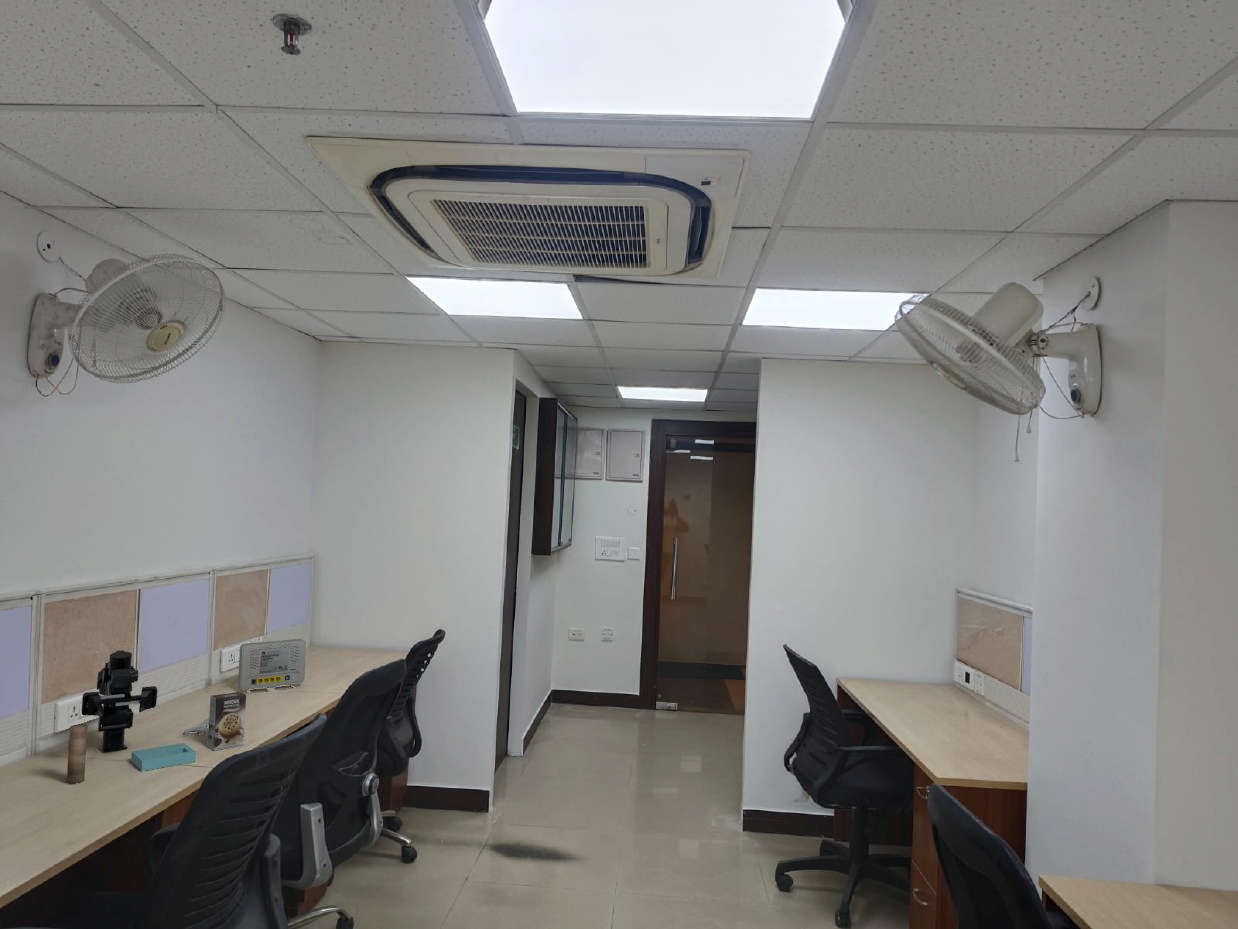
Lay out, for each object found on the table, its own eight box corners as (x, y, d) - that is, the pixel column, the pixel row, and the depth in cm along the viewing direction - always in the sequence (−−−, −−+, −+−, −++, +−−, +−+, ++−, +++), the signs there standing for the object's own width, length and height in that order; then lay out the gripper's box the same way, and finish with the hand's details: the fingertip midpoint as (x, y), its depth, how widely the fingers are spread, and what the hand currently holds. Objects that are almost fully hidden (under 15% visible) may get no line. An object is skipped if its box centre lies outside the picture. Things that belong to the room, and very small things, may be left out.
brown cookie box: (214, 751, 246) (216, 698, 247) (206, 747, 250) (209, 695, 251) (244, 745, 252) (246, 694, 253) (236, 741, 257) (239, 691, 258)
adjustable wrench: (212, 718, 287) (212, 713, 287) (230, 718, 287) (231, 713, 287) (180, 737, 262) (181, 731, 262) (201, 737, 262) (201, 731, 263)
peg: (65, 781, 216) (68, 725, 217) (82, 778, 219) (86, 723, 220) (68, 785, 213) (71, 728, 214) (85, 782, 216) (89, 726, 217)
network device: (299, 684, 343) (301, 638, 344) (306, 688, 336) (308, 640, 337) (236, 692, 327) (238, 643, 328) (241, 696, 320) (244, 646, 321)
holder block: (131, 762, 234) (131, 751, 234) (183, 752, 244) (183, 742, 244) (141, 771, 225) (142, 761, 226) (195, 762, 235) (195, 751, 235)
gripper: (83, 667, 233) (84, 690, 220) (156, 661, 244) (161, 682, 231) (81, 703, 234) (81, 727, 222) (153, 695, 245) (158, 718, 233)
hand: (121, 712), depth 227 cm, fingers open, 9 cm apart
